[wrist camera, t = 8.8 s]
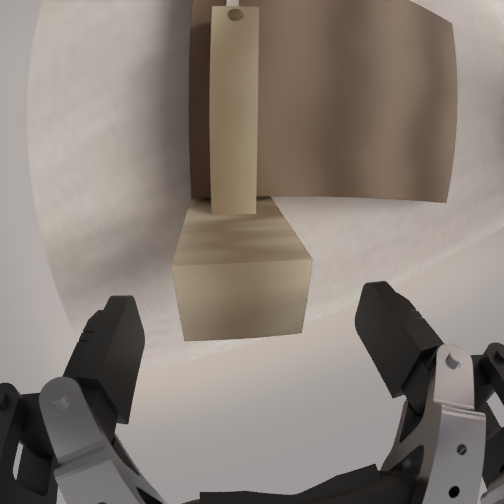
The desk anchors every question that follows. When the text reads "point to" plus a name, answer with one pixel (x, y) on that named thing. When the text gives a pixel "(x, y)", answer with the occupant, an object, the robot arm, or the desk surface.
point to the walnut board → (339, 99)
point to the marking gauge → (237, 212)
